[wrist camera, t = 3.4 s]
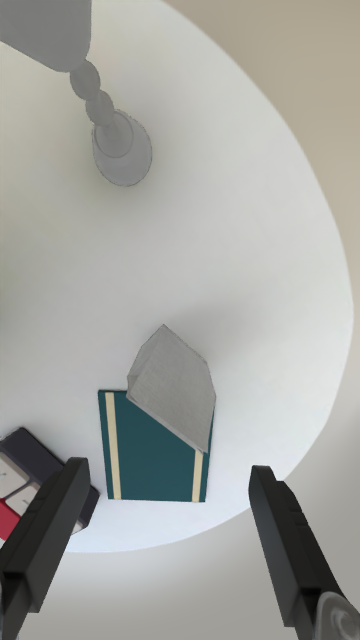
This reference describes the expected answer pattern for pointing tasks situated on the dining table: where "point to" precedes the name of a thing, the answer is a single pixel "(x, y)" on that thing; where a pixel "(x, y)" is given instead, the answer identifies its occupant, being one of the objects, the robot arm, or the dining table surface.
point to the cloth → (148, 455)
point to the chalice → (78, 78)
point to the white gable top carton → (174, 388)
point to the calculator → (29, 480)
